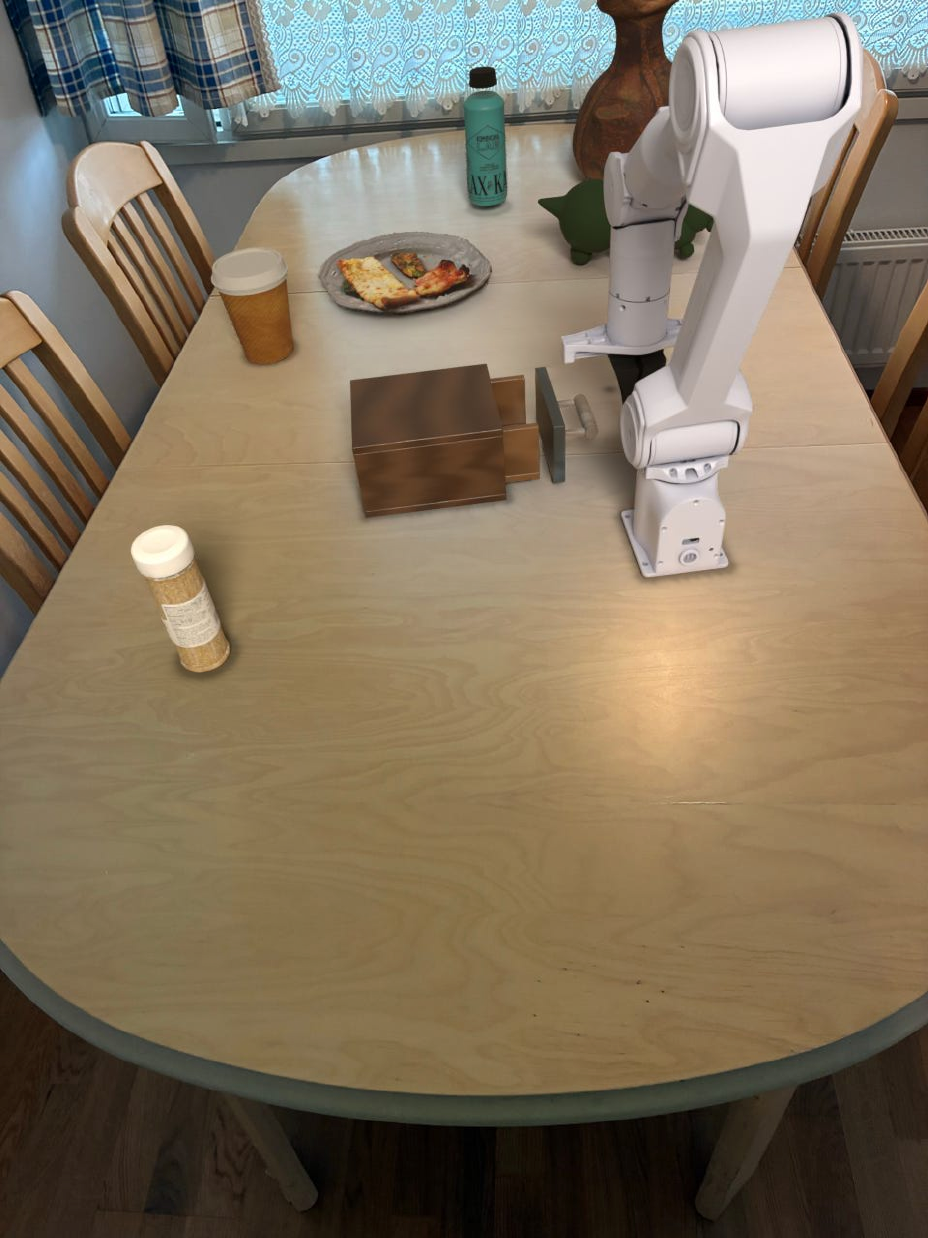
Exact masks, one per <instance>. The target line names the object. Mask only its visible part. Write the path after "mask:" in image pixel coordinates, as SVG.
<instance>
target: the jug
mask: <svg viewBox="0 0 928 1238" xmlns="http://www.w3.org/2000/svg"><path fill="white" fill-rule="evenodd" d="M679 1H680V0H596V2H595V4H596V7H597V9H598V10H599V11H600V12H601V13H603V14H605V15H608V16H609V17H611V19H612V20H613V24H614V29H615V45H614V53H613V56H612V59H611V62H610V64H609V66H608V67H607V68H606V69H605V70H604V71H602V73H601V74H600V75H599V76H598V77H597V78H596V79H595V81H594V82H593V83H592V84H591V86H590V88H589V89H588V91H587V93H586V94H585V97H584V99H583V101H582V103H581V106H580V108H579V111H578V113H577V116H576V120H575V124H574V125H575V126H574V128H573V133H572V152H573V157H574V160H575V163H576V166H577V168H578V170H579V172H580V174H581V175H582V176H583V177H585V178H586V179H587V180H589V179H601V180H604V170H605V165H606V161H607V159H608V156H609V154H610V153H611V152H620V153H621V154H623V153H629V152H630V151H631V149H632V148H633V146H634V145H635V143H636V142H637V140H638V139H639V137H640V136H641V134H642V133H643V131H644V129H645V128H646V126H647V125H648V124H649V122H650V121H651V120H652V118H654V117H655V114H656V112H657V111H658V109H659V108H660V107H665V106H669V80H670V72H671V66H672V62H673V61H671V60H670V59H669V58H668V56H667V54H666V51H665V43H664V35H663V27H664V22H665V19H666V16H667V15H668V12H669V11H670V9H671V8H672V7H673V6H674V5H675V4H676V3H678V2H679Z"/></svg>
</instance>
